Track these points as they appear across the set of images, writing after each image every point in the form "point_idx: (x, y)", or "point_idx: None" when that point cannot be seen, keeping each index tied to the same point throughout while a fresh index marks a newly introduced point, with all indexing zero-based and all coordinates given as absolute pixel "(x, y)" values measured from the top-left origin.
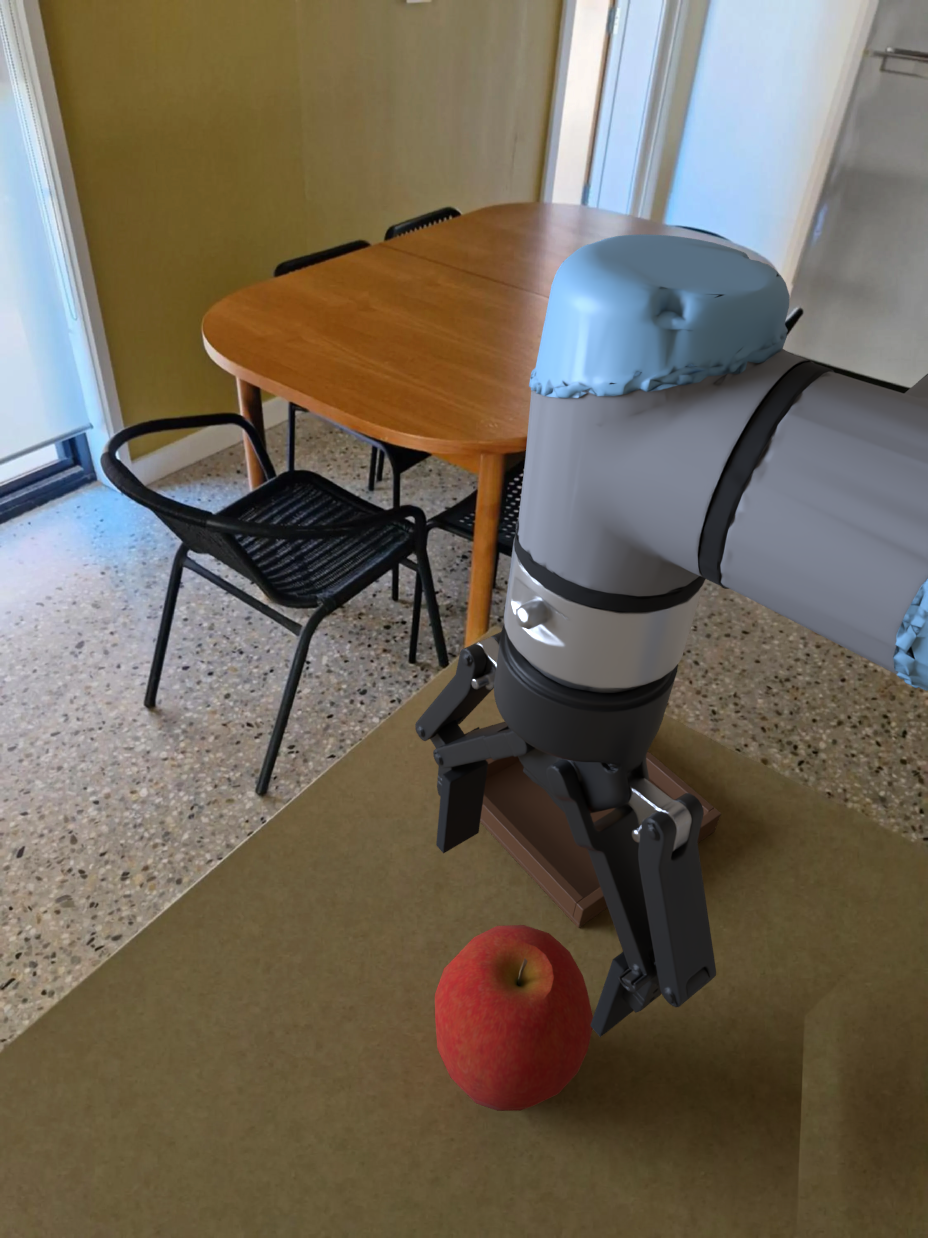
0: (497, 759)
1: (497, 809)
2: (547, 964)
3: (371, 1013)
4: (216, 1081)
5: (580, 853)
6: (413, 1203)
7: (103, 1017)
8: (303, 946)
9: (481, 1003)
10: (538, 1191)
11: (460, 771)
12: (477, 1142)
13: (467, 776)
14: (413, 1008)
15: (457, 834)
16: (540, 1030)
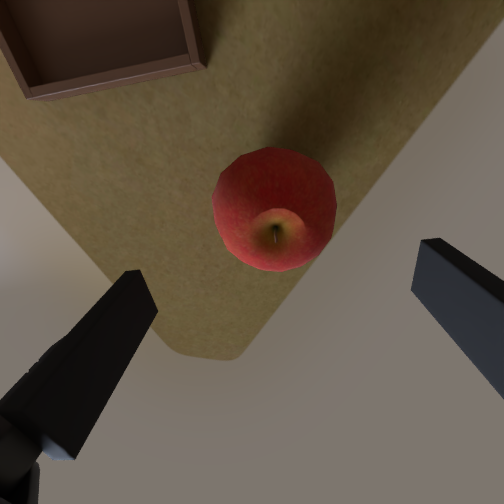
0: (3, 37)
1: (73, 79)
2: (281, 210)
3: (211, 238)
4: (214, 305)
5: (135, 9)
6: None
7: (170, 329)
8: (160, 253)
9: (279, 268)
10: (338, 205)
11: (46, 443)
12: None
13: (59, 431)
14: None
15: (142, 313)
16: (321, 238)
